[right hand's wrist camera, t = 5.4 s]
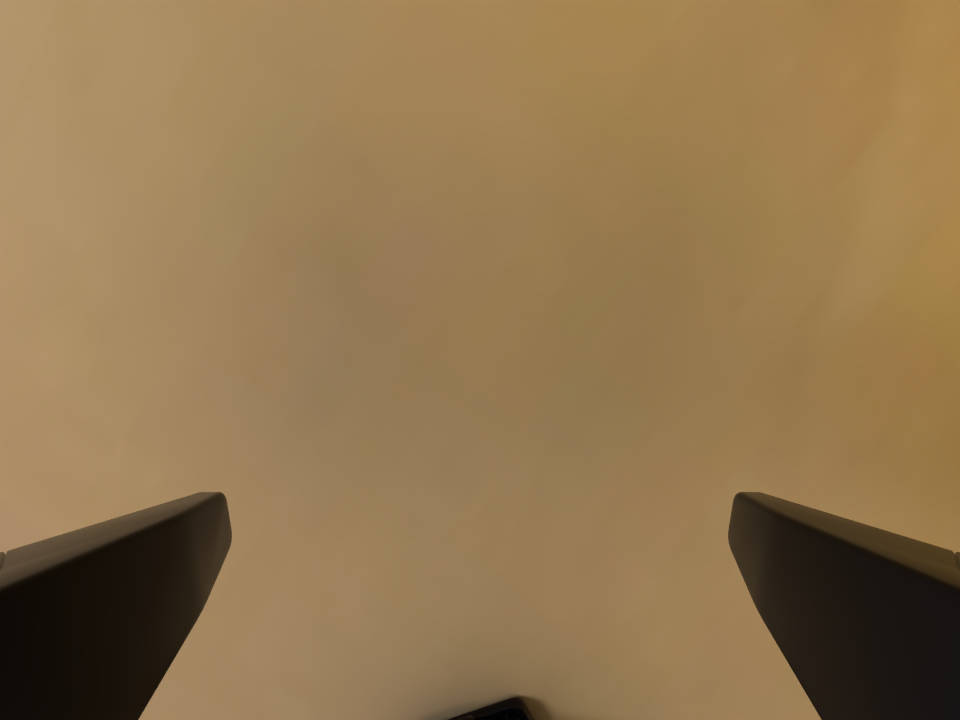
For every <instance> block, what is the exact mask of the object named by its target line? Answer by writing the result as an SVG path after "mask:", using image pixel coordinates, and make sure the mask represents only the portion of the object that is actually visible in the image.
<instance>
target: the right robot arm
mask: <svg viewBox="0 0 960 720" xmlns="http://www.w3.org/2000/svg"><path fill="white" fill-rule="evenodd" d="M231 539H232V531H231V525H230V518H229V512H228V506H227V500H226V497H225V495H224V494H223V493H221V492H200V493H196V494H193V495H190V496H187V497H183V498H180V499H177V500H173V501H170V502H167V503H164V504H160V505H157V506H154V507H150V508H147V509H144V510H141V511H137V512H134V513H131V514H127V515H124V516H121V517H118V518H114V519H111V520H108V521H104V522H101V523H98V524H95V525H91V526H88V527H85V528H82V529H78V530H75V531H72V532H68V533H65V534H62V535H59V536H55V537H52V538H49V539H45V540H42V541H39V542H36V543H32V544H29V545H26V546H22V547H19V548H16V549H13V550H9V551H7V553H6V555H5V553H4V552H0V720H138V719H139V718H140V716H141V714H142V712H143V711H144V709H145V707H146V706H147V704H148V702H149V701H150V699H151V697H152V696H153V694H154V692H155V690H156V689H157V687H158V685H159V684H160V682H161V680H162V679H163V677H164V675H165V673H166V672H167V670H168V668H169V667H170V665H171V663H172V662H173V660H174V658H175V657H176V655H177V653H178V651H179V650H180V648H181V646H182V645H183V643H184V641H185V640H186V638H187V636H188V634H189V633H190V631H191V629H192V628H193V626H194V624H195V623H196V621H197V619H198V617H199V615H200V614H201V612H202V610H203V608H204V606H205V604H206V602H207V599H208V597H209V595H210V593H211V590H212V588H213V586H214V583H215V581H216V579H217V576H218V574H219V572H220V569H221V567H222V565H223V562H224V560H225V558H226V555H227V553H228V551H229V548H230V545H231ZM728 539H729V545H730V548H731V551H732V553H733V555H734V558H735V560H736V562H737V565H738V567H739V569H740V572H741V574H742V576H743V579H744V581H745V583H746V586H747V588H748V590H749V593H750V595H751V597H752V600H753V602H754V604H755V606H756V608H757V610H758V612H759V614H760V615H761V617H762V619H763V621H764V623H765V624H766V626H767V628H768V629H769V631H770V633H771V634H772V636H773V638H774V640H775V641H776V643H777V645H778V646H779V648H780V650H781V651H782V653H783V655H784V657H785V658H786V660H787V662H788V663H789V665H790V667H791V668H792V670H793V672H794V673H795V675H796V677H797V679H798V680H799V682H800V684H801V685H802V687H803V689H804V690H805V692H806V694H807V696H808V697H809V699H810V701H811V702H812V704H813V706H814V707H815V709H816V711H817V712H818V714H819V716H820V718H821V719H822V720H960V552H956V553H955V555H954V552H953V551H951V550H947V549H944V548H941V547H938V546H934V545H931V544H928V543H924V542H921V541H918V540H915V539H911V538H908V537H905V536H901V535H898V534H895V533H892V532H888V531H885V530H882V529H878V528H875V527H872V526H869V525H865V524H862V523H859V522H856V521H852V520H849V519H846V518H842V517H839V516H836V515H833V514H829V513H826V512H823V511H819V510H816V509H813V508H810V507H806V506H803V505H800V504H796V503H793V502H790V501H787V500H783V499H780V498H777V497H773V496H770V495H767V494H764V493H760V492H739V493H737V494H736V495H735V497H734V500H733V506H732V512H731V518H730V525H729V531H728ZM512 712H513V713H512ZM449 720H533V718H532V717H531V715H530V713H529V711H528V710H527V708H526V706H525V704H524V703H523V702H522V701H520V700H518V699H508V700H505V701H502V702H499V703H496V704H493V705H490V706H487V707H484V708H481V709H478V710H475V711H472V712H469V713H467V714H464V715H461V716H458V717H455V718H452V719H449Z"/></svg>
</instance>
